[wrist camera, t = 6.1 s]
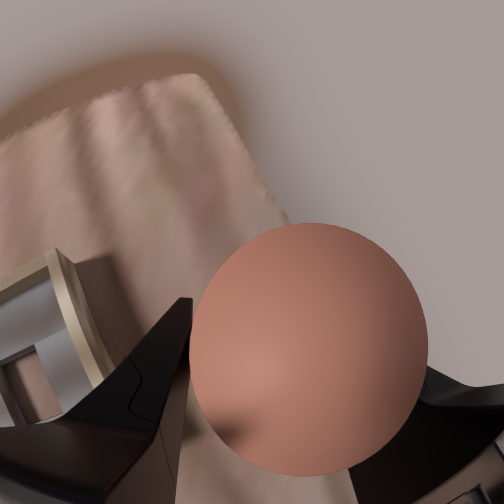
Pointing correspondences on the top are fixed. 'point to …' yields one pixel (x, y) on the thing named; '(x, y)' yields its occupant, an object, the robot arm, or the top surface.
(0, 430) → the robot arm
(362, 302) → the peg
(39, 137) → the top surface
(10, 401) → the box
